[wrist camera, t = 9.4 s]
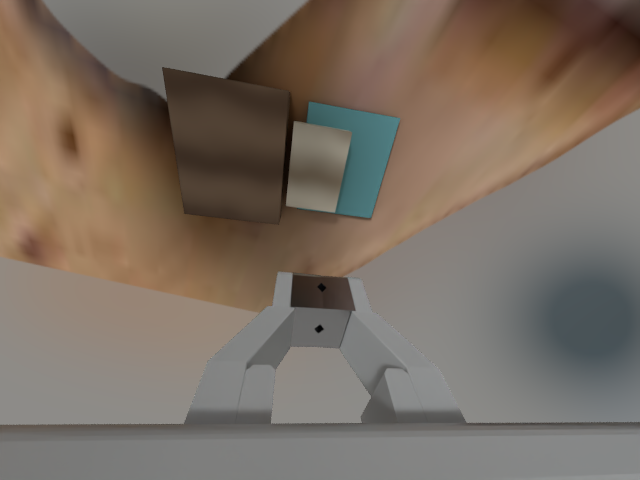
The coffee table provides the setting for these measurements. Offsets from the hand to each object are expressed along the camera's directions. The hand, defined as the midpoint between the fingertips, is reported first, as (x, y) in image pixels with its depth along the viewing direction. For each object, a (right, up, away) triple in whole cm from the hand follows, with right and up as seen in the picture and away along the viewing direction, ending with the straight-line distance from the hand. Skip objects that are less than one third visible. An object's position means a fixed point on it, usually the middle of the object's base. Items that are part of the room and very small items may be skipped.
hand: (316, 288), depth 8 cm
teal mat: (+3, +11, +19) cm, 22 cm away
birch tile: (0, +10, +18) cm, 21 cm away
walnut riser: (-9, +12, +18) cm, 23 cm away
